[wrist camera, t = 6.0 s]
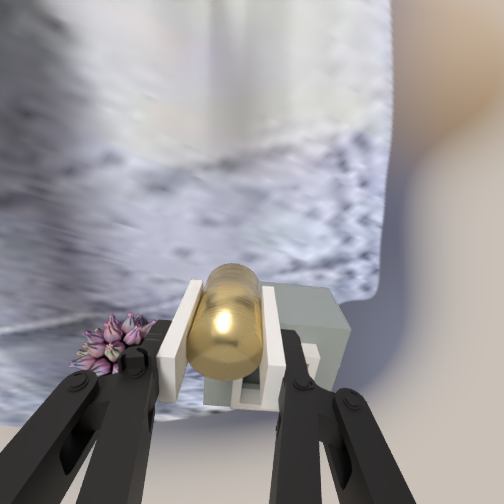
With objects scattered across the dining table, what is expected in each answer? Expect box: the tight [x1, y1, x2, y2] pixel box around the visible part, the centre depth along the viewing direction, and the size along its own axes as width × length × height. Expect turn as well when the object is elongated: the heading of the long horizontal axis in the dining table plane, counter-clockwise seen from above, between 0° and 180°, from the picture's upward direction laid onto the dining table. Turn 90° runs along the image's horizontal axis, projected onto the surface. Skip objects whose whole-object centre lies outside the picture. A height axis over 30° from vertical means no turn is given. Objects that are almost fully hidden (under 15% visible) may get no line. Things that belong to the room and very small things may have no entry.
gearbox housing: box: [203, 282, 351, 412], centre depth 33 cm, size 16×14×11 cm
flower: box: [69, 313, 157, 377], centre depth 33 cm, size 12×12×12 cm
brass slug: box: [186, 263, 263, 381], centre depth 16 cm, size 4×4×6 cm
